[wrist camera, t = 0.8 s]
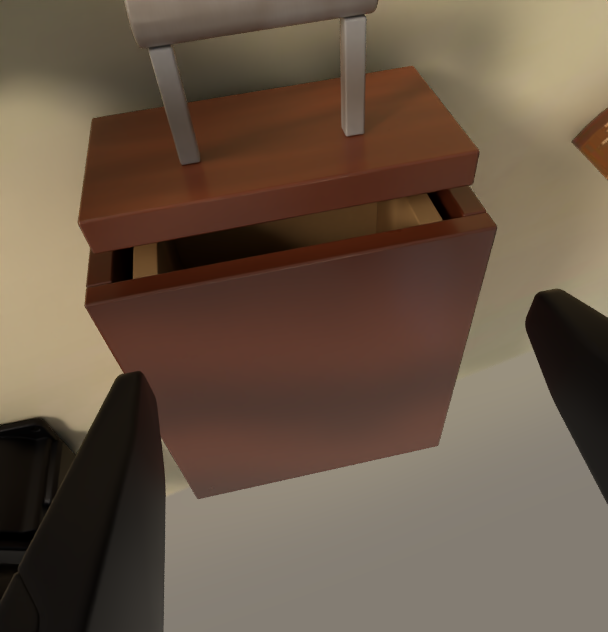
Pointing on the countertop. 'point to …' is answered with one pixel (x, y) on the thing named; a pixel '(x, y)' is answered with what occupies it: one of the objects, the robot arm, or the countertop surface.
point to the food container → (595, 142)
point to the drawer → (265, 148)
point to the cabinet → (301, 346)
